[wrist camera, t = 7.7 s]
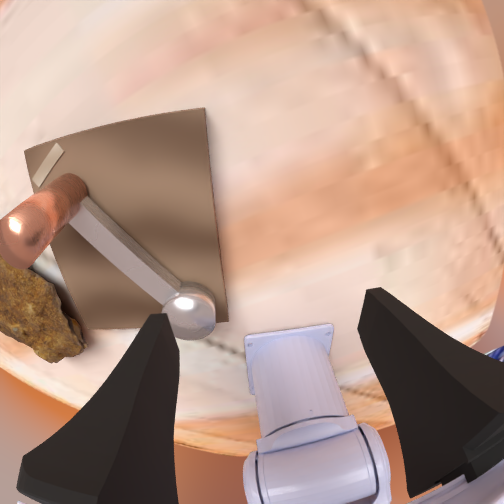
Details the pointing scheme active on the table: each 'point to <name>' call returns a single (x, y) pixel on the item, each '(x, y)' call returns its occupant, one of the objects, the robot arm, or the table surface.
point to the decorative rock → (37, 315)
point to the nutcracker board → (137, 210)
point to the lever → (103, 251)
